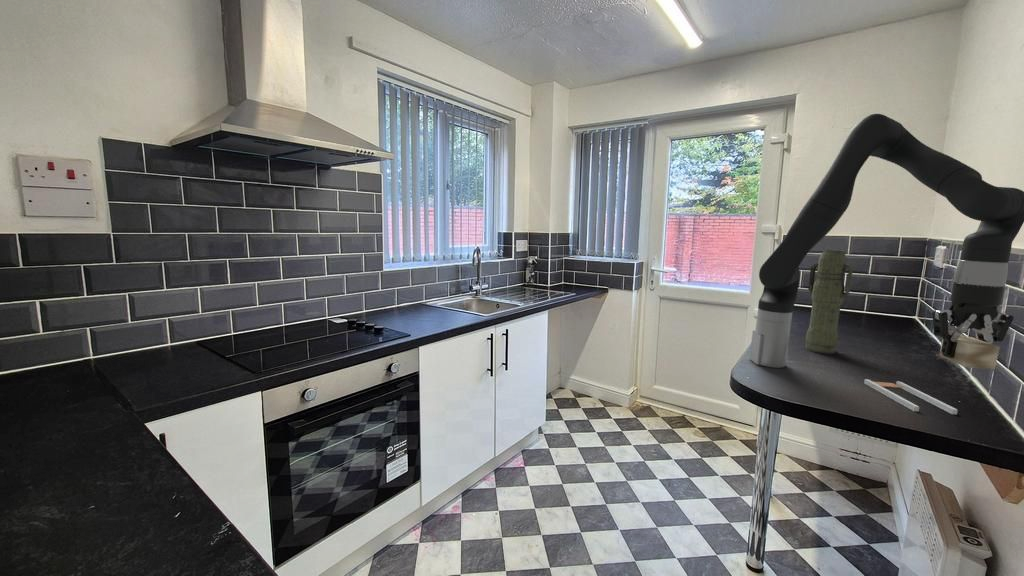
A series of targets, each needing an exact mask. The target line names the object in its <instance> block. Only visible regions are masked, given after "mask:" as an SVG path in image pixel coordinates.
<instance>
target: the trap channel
mask: <svg viewBox="0 0 1024 576" xmlns="http://www.w3.org/2000/svg"><path fill="white" fill-rule="evenodd" d="M863 383H864V385H866V386H868V387H869V388H872V389H873V390H875V391H877V392H879V393H881V394H883V395H884V396H886V397H887V398H890V400H894V402H897V403H899V405H902V406H904V407H905V408H908V410H909V409H910V410H911V411H912V412H919V411H920V406H918V405H917V404H915V403H913V402H911V401H910V400H907V399H906V398H904V397H903V396H900V395H898V394H896V393H895V392H893V391H890V390H889V389H887V388H893V389H901V390H904V391H906V392H908V393H910V394H912V395H913V396H916V397H918V398H920V399H922V400H923V401H925V402H928V403H929V404H930V405H933V406H936V407H937V408H939V409H941V410H943V411H945V412H947V413H949V414H951V415H955V416H956V415H957V414H958V409H957V408H955V407H953V406H951V405H949V404H947V403H945V402H943V401H942V400H939V399H937V398H935V397H932V396H931V395H929V394H927V393H924V392H922V391H921V390H918V389H916V388H915V387H912V386H910V385H909V384H906V383H904V382H902V381H898V380H897V381H896V382H895V383H894V382H893V383H892V382H885V381H883V382H882V381H881V382H880V381H873V380H871V379H866V378H865V379H864V381H863Z"/></svg>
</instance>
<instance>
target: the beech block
mask: <svg viewBox="0 0 1024 576" xmlns="http://www.w3.org/2000/svg"><path fill="white" fill-rule="evenodd" d="M941 339H942V340H941V345H940V351H939V357H941V358H943V359H945V360H948V361H950V362H953V363H955V364H957V365H960V366H962V367H964V368H971V369H981V370H982V369H983V370H992V371H994V370H996V366H997V361H998V357H999V352H1000V346H998V345H995V344H993V343H992V344H990V343H987V342H984V341H981V340H978V339H977V338H976V337H972V336H966V335H960V337H959V338H958V339H957V341H955V342H957V346H956V351H955V355H954V358H948V357H945V356H943V353H942V352H941V349H942V344H943V338H941Z"/></svg>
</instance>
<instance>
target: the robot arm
mask: <svg viewBox="0 0 1024 576" xmlns="http://www.w3.org/2000/svg"><path fill="white" fill-rule="evenodd" d="M870 157H875V158H878V159H882V160H883V161H886V162H890V163H892V164H895V165H897V166H899V167H901V168H902V169H904V170H905V171H907V172H908V173H909V174H911V175H912V177H914V178H915V179H916V180H917V181H919V182H920V183H921V184H923V185H924V186H926V187H927V188H929V189H930V190H932V191H934V192H935V193H937V194H938V195H940V196H942V197H944V198H946V200H947V201H948V202H949V203H950V204H951V205H952V206H953V208H955V210H956V211H958V212H960V214H962V215H964V216H965V217H967V218H970V219H972V220H975V221H979V222H980V223H979V224H978V227H977V229H976V231H974V232H973V233H970V234H968V235H966V236H965V238H964V239H963V242H962V248H961V252H960V257H959V261H958V264H957V267H956V269H955V274H954V277H953V282H952V283H953V284H952V288H951V294H950V298H949V300H950V302H951V305H950V306H949V308H947V309H944V310H943V309H942V310H939V309H934V310H932V313H931V314H932V331H933V332H932V335H933V336H935V337H939V338H941V339H943V344H942V343H941V344H942V349H941V348H940V349H941V352H942V353H943V356H945V357H948V358H954V355H955V351H956V346H957V342H955V341H957V339H958V338H959V337H960V336H962V334H964V333H966V332H967V330H972V331H973V332H974V333H975V339H978V340H981V341H984V342H987V343H990V344H993V343H995V342H999V343H1001V342H1003V341H1004V339H1005V337H1006V335H1007V333H1008V332H1009V329H1010V327H1011V325H1012V323H1013V321H1014V318H1015V317H1014V315H1012V314H1008V313H1007V314H1006V313H1002V312H999V311H998V307H1000V306H1001V305H1002V303H1003V296H1004V293H1005V288H1006V284H1007V278H1008V274H1009V273H1008V272H1009V271H1008V270H1009V269H1008V268H1009V262H1010V257H1011V256H1010V255H1011V252H1012V246H1013V242H1014V241H1015V239H1016V237H1017V235H1018V234H1019V233H1020V230H1021V229H1022V227H1023V224H1024V190H1022V189H1019V188H1017V187H1008V186H1007V187H1005V186H1004V187H1003V186H995V185H992V184H991V183H988V182H987V181H985V180H984V179H983V177H982V174H981V173H980V172H979V171H978V170H976V169H974V168H973V167H972V166H969V165H967V164H966V163H964V162H962V161H960V160H957V159H956V158H954V157H952V156H950V155H948V154H946V153H943V152H940V151H938V150H935V149H934V148H932V147H930V146H928V145H926V144H924V143H923V142H922V141H921V140H919V139H918V138H917V137H916V136H914V135H913V134H912V133H911V132H910V131H909V130H907V128H906V127H905V126H903V124H902V123H900V122H899V121H897V120H895V119H893V118H891V117H888V116H887V115H885V114H882V113H873V114H869V115H867V116H865V117H864V118H862V119H860V120H859V121H858V122H857V123H856V124H855V125H854V126H853V128H852V129H851V130H850V132H849V134H848V136H847V137H846V139H845V140H844V143H843V144H842V146H841V148H840V149H839V152H838V154H837V156H836V157H835V159H834V161H833V163H832V164H831V166H830V167H829V169H828V171H827V172H826V173H825V175H824V177H823V178H822V179H821V181H820V183H819V185H818V186H817V187H816V188H815V190H814V192H813V193H812V194H811V196H810V197H809V198H808V200H807V201H806V203H805V205H804V206H803V207H802V209H801V210H800V211H799V214H798V215H797V216H796V218H795V220H794V221H793V222H792V225H791V226H790V228H789V229H788V231H787V233H786V235H785V237H784V238H783V240H782V241H781V243H779V246H777V247H776V249H774V251H773V252H772V254H770V256H769V257H768V258H767V259H766V260H765V262H764V263H763V264H762V265H761V266H760V269H759V272H758V277H759V281H760V283H761V284H762V286H763V289H762V294H761V297H760V298H759V300H758V305H757V306H758V307H757V316H756V322H755V323H756V324H755V330H752V334H751V343H750V351H749V352H750V353H749V360H750V361H752V362H753V363H754V364H755V365H757V366H764V367H768V368H776V369H777V368H778V369H779V368H780V369H781V368H785V367H786V366H787V361H788V351H789V342H790V336H791V328H792V320H793V315H794V314H793V313H794V306H795V303H796V301H797V296H798V292H799V291H798V290H799V284H800V283H799V282H800V279H801V277H800V275H801V273H800V272H801V271H800V268H799V267H800V265H801V264H802V262H803V260H804V258H805V257H806V256H807V254H808V253H809V252H810V251H811V250H812V249H813V248H814V247H815V246H816V245H817V244H818V243H819V242H820V241H822V239H824V237H825V236H826V235H828V233H830V231H831V230H833V228H835V226H836V224H837V223H838V222H839V221H840V219H841V218H842V217H843V215H844V213H845V212H846V210H847V209H848V207H849V205H850V204H851V201H852V197H853V192H854V188H855V182H856V179H857V176H858V174H859V172H860V170H861V169H862V167H863V166H864V164H865V163H866V162H867V161H868V159H869V158H870Z"/></svg>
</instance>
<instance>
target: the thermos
mask: <svg viewBox="0 0 1024 576" xmlns="http://www.w3.org/2000/svg"><path fill="white" fill-rule="evenodd" d="M816 269H817V270H816ZM846 269H847V270H848V273H847V279H846V280H847V281H846V286H845V278H844V276H845V273H846ZM853 270H854V269H852V266H850V265H848V264H847V257H846V253H845V252H843V250H828V249H827V250H825V251H822V252H821V254H820V256H819V258H818V263H813V265H812V266H811V267H810V270H809V282H808V289H807V290H808V292H810V294H812V295H811V301H812V306H811V313H810V320H809V327H808V329H807V330H806V335H805V349H806V350H808V351H810V352H813V353H817V354H828V355H831V354H836V347H837V345H838V339H839V332H838V327H839V326H838V325H839V318H840V312H841V305H842V304H843V303H844V298H845V297H846V298H848V297H849V295H850V292H851V291H850V290H851V284H852V277H853ZM816 271H817V272H816ZM816 273H817V276H816ZM815 277H816V278H815Z"/></svg>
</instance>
